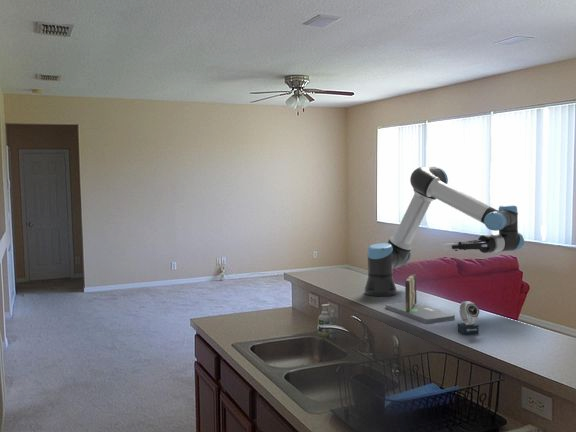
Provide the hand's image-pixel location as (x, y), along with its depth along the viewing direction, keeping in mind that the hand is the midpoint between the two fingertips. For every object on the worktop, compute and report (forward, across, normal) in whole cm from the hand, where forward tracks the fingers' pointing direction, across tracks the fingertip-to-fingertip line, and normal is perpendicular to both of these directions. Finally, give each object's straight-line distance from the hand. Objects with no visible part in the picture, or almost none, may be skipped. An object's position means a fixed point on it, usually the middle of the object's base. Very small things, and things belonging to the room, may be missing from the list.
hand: (444, 247), depth 221 cm
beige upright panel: (+13, +6, -24) cm, 28 cm away
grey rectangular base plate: (+12, +2, -26) cm, 29 cm away
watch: (+13, -29, -28) cm, 42 cm away
